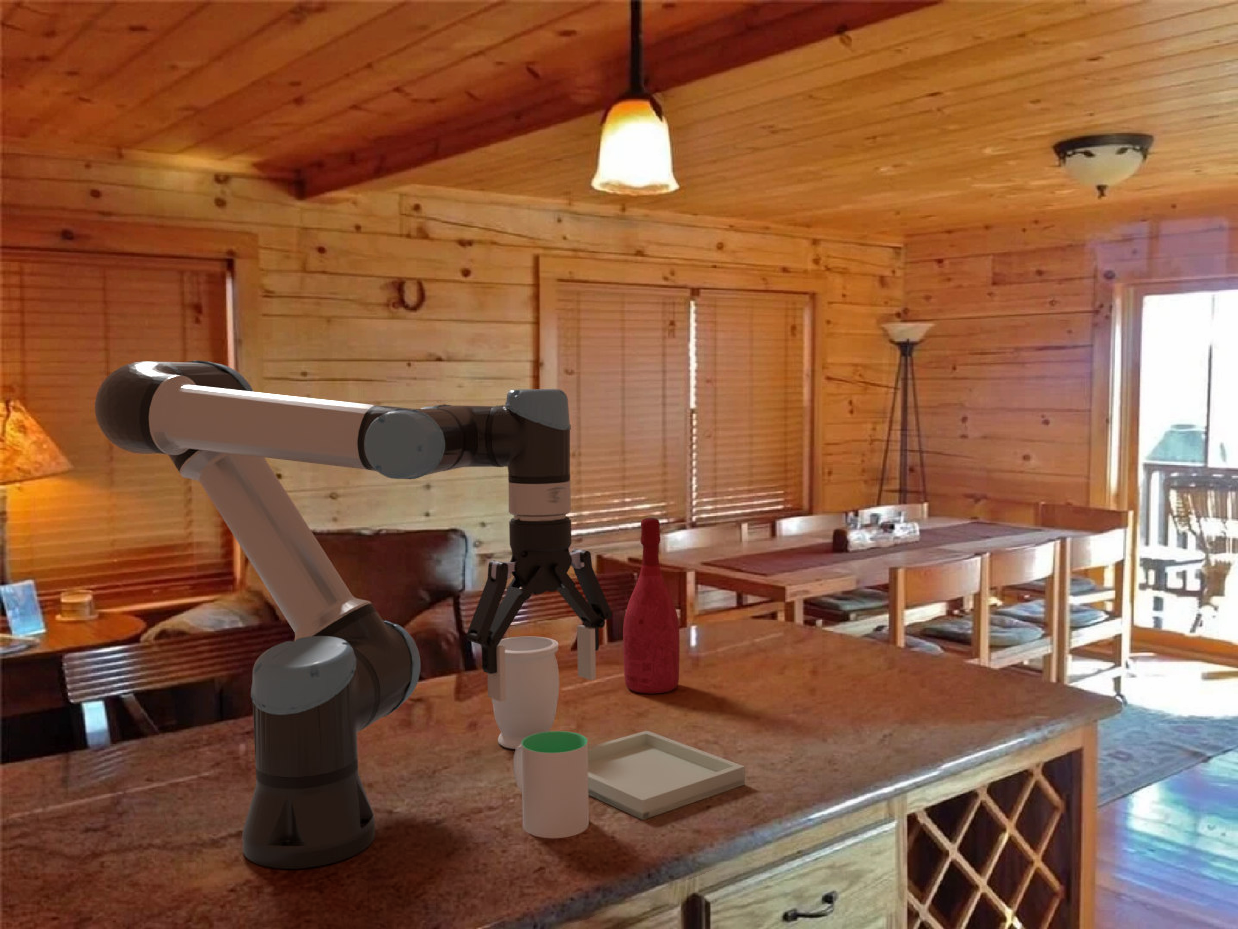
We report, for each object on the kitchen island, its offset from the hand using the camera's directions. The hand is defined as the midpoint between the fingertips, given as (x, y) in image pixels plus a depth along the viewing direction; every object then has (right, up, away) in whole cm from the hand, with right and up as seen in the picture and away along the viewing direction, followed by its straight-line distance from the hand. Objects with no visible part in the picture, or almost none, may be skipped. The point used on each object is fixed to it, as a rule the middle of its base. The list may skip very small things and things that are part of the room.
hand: (543, 688), depth 137 cm
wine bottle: (+15, -12, +59) cm, 62 cm away
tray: (+13, -15, +14) cm, 24 cm away
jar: (-5, -14, +31) cm, 34 cm away
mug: (0, -17, +1) cm, 17 cm away
